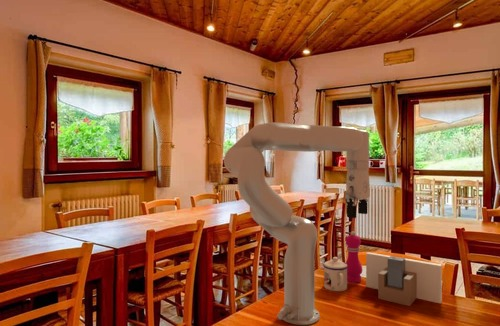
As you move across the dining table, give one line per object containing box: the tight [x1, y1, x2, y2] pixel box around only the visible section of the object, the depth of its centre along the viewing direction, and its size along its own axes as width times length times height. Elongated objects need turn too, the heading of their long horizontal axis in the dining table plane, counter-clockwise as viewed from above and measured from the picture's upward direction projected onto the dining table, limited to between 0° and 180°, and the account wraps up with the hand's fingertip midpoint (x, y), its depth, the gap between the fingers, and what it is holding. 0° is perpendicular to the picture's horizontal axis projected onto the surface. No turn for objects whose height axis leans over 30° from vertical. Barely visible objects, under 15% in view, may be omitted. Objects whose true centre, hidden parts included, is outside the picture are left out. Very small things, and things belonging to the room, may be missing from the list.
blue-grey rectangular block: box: [388, 255, 406, 289], centre depth 129 cm, size 4×5×10 cm
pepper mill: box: [345, 231, 363, 284], centre depth 149 cm, size 7×7×20 cm
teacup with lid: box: [323, 256, 348, 292], centre depth 139 cm, size 12×9×12 cm
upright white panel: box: [365, 252, 443, 307], centre depth 130 cm, size 11×26×13 cm, turn 51°
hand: (357, 215), depth 126 cm, fingers open, 9 cm apart
